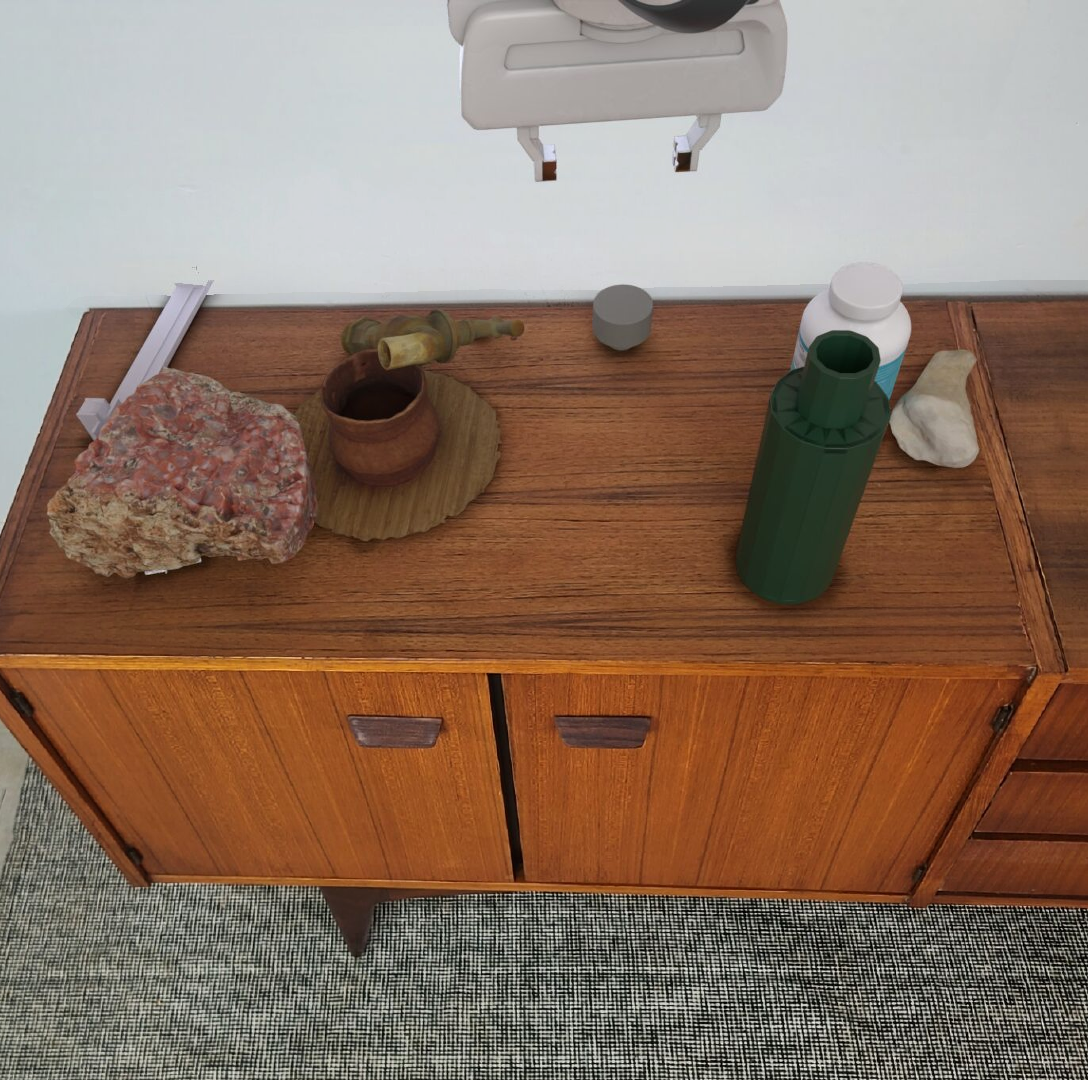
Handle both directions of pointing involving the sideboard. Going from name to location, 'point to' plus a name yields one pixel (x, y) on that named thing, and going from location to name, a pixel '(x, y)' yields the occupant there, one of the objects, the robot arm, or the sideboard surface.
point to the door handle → (149, 353)
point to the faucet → (421, 337)
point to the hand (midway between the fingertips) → (614, 171)
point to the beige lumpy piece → (938, 413)
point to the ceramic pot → (395, 447)
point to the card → (160, 570)
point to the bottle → (812, 468)
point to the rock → (186, 481)
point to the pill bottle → (861, 316)
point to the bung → (622, 316)
